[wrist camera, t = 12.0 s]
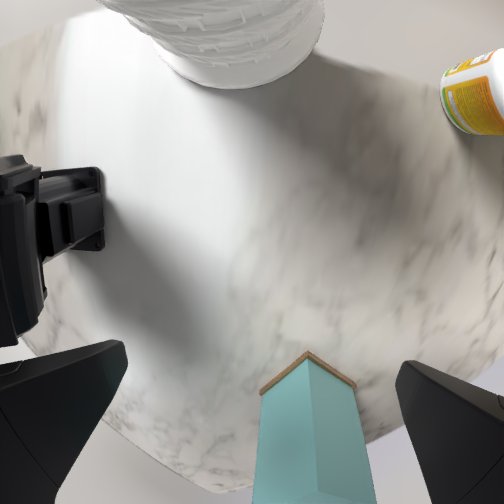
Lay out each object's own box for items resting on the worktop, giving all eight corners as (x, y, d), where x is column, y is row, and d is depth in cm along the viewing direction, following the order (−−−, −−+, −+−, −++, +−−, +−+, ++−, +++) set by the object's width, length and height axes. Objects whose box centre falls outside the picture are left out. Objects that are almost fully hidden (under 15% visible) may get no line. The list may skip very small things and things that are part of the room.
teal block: (262, 395, 25) (250, 516, 14) (307, 358, 23) (317, 491, 12) (307, 420, 26) (312, 531, 14) (352, 388, 24) (377, 505, 13)
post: (259, 390, 26) (256, 427, 21) (307, 350, 24) (311, 388, 19) (307, 417, 26) (309, 453, 22) (354, 382, 25) (364, 419, 20)
